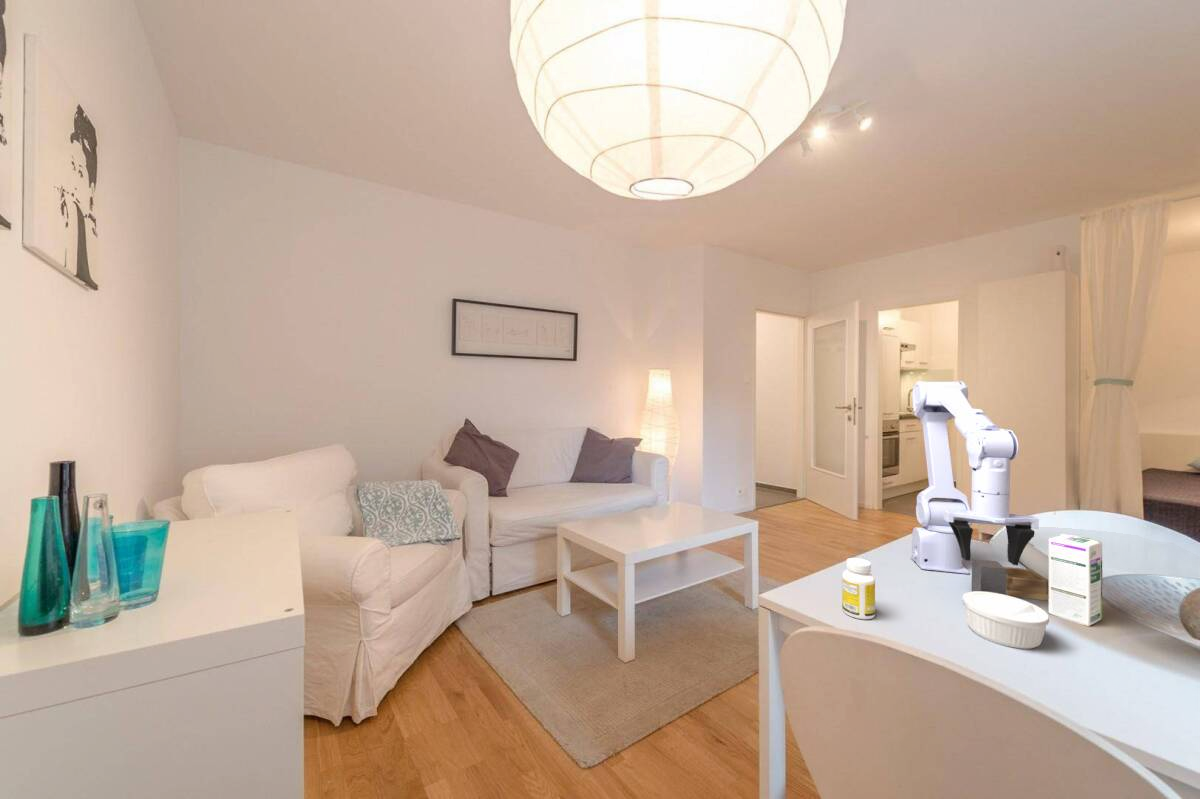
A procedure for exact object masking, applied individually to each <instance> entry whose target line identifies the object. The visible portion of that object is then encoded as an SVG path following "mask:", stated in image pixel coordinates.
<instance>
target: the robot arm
mask: <svg viewBox="0 0 1200 799" xmlns="http://www.w3.org/2000/svg"><path fill="white" fill-rule="evenodd" d="M911 398H912V399H911V400H912V410H913V414H914V416H915V417H916V418H918V419H920V420H921V426H922V432H923V442H924V450H925V460H926V469H927V470H926V471H927V477H928V487H927V488H924V489H923V490H921V491H920V492H919V493H918V494H917V496H916V506H915V515H916V519H917V521H918V523H919V524H920V525H921V527H920V526H919V527H918V526H917V527H916V526H915V527H914V528H913V530H912V534H911V555H910V558H911V560H912V561H913V562H914V561H915V562H916V563H915V562H914V563H915V564H916V565H917V566H918V567H919V568H920V569H922V570H927V571H936V572H937V571H939V572H946V573H957V574H958V573H959V574H967V575H969V574H970V571H969V570H968V569H967V568H966V567H964V565H963V560H964V561H965V562H967V561H968V562H970V561H971V558H972V557H971V551H972V550H971V543H972V537H973V531H974V529H973V528H972V527H971V526H972V525H973V524H978V525H979V524H980V525H981V524H982V525H995V526H1005V528H1006V529H1005V530H1006V536H1007V544H1008V553H1007V562H1008V563H1010V564H1012V565H1013V566H1018V565H1019V563H1020V561H1019V559H1020V557H1021V554H1022V552H1023V550H1024V548H1025V547H1026V545H1027V544H1028V542H1029V543H1030V541H1031V540H1032V539H1033V538H1034V537H1035V529H1037V530H1038V529H1039V526H1040V525H1039V522H1040V520H1039V518H1038V517H1035V516H1033V515H1023V514H1015V513H1010V501H1011V499H1010V493H1011V492H1010V490H1011V461H1013V460H1014V459H1015V458H1016V457H1017V455H1018V453H1019V442H1018V438H1017V436H1016V434H1015V433H1014V431H1013V430H1011V429H1004V428H999V427H998V426H997V425H996V424H995V423H994V421H993V420H991V418H990V417H989V416H988V415H987V413H986V412H984V411H983V410H982V409H980V408H979V409H978V408H974V407H973V405H972V404H971V403H970V401H969V399H968V398H969V389H968V386H967V384H966V383H965V382H964V381H962V380H956V381H923V380H918V381H917V382H916V383H915V384H914V386H913V389H912V393H911ZM953 418H955V419H954V426H955V428H956V429H957V430H958V432H959V433H960V435H961V436H962V437H963V438H964V439H965V441H966V442H965V447H966V448H965V449H966V453H967V455H968V464H969V467H971V496H970V497H971V499H970V501H971V503H970V502H969V498H968V496H967V495H966V494H965V493H963V492H961V491H960V490H959V489H957V488H956V487H955V483H954V482H955V481H954V475H953V467H952V458H951V450H950V443H949V433H948V426H947V425H948V424H947V422H948V421H949V420H951V419H953ZM970 504H971V506H970ZM1033 529H1034V530H1033Z"/></svg>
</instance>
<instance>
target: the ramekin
mask: <svg viewBox="0 0 1200 799" xmlns="http://www.w3.org/2000/svg"><path fill="white" fill-rule="evenodd" d="M962 603H963V605H964V610H965V617H966V622H967V625H968V626H969V627H970V630H971V631H973V632H974V633H975V634H976V635H977V636H979V637H981V638H983V639H984V640H987V641H990V642H992V643H995V644H996V645H997V644H998V645H1001V646H1005V647H1008V648H1014V649H1023V650H1030V649H1035V648H1036V647H1038V646H1040V645H1041V644H1042V642H1043V639H1044V635H1045V632H1046V627H1047V626H1048V625H1049V623H1050V616H1049V615H1048V613H1047V612H1046V611H1045V609H1042V608H1041V607H1039V606H1038V605H1036V604H1033V603H1031V602H1029V601H1027V600H1024V599H1022V598H1021V599H1020V598H1019V597H1012V596H1008V595H1003V594H998V593H992V592H983V591H973V592H971V591H968V592H966V593H963V595H962Z"/></svg>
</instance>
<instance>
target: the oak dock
mask: <svg viewBox="0 0 1200 799" xmlns="http://www.w3.org/2000/svg"><path fill="white" fill-rule="evenodd" d="M1004 567H1005V568H1006V569H1007V570H1006V595H1008V596H1011V597H1015V598H1021V599H1022V598H1023V599H1031V600H1041V601H1048V602H1049V580H1047V579H1045V578H1044V577H1042V576H1041V575H1039V574H1038V573H1036V572H1035V571H1033V570H1032V569H1029V568H1022V567H1011V566H1004Z"/></svg>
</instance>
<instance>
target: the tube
mask: <svg viewBox="0 0 1200 799" xmlns="http://www.w3.org/2000/svg"><path fill="white" fill-rule="evenodd" d="M1006 545H1007V546H1006V552H1007V554H1008V543H1007V544H1006ZM1019 563H1022V564H1023V566H1025V567H1026V568H1027V569H1032V570H1033V571H1035V572H1036V573H1038V574H1039V575H1041V576H1042V577H1044V578H1045V579H1047V580H1049V576H1048V575H1049V555H1046V554H1045V553H1044V552H1042V551H1041V550H1040V549H1038V548H1036V547H1035V545H1033V543H1031V542H1030V541H1029V542H1028V544H1027V545H1026V547H1025V548H1024V550H1023V552H1022V554H1021V557H1020V559H1019Z"/></svg>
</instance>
